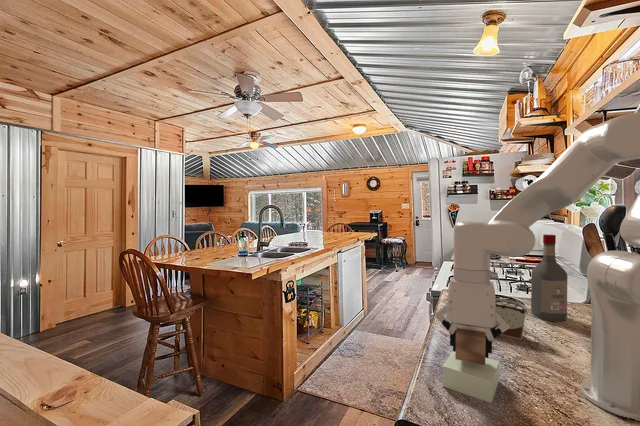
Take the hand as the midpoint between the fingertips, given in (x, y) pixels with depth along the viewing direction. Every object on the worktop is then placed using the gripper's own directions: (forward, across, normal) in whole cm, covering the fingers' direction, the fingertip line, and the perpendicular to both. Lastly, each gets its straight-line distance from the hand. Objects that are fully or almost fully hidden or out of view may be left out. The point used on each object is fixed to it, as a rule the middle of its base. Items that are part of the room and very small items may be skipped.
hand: (470, 351), depth 71 cm
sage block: (+8, 0, 0) cm, 8 cm away
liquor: (+7, -25, -58) cm, 64 cm away
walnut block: (+1, 0, 0) cm, 1 cm away
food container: (+8, -10, -36) cm, 38 cm away
